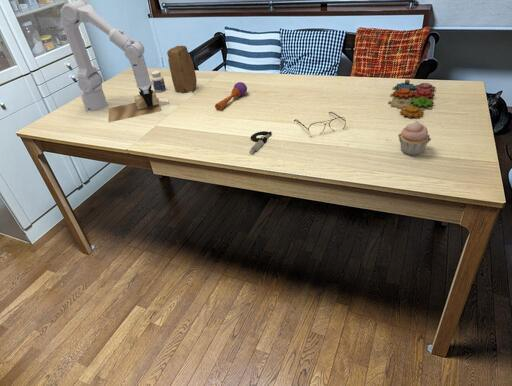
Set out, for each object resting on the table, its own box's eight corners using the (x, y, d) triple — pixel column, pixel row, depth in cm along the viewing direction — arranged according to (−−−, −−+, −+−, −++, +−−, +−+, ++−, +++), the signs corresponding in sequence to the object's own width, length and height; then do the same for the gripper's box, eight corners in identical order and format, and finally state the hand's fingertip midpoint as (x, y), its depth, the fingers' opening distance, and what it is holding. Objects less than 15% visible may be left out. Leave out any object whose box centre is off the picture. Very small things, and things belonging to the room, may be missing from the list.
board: (109, 124, 153) (108, 122, 152) (109, 110, 165) (108, 108, 164) (162, 113, 157) (161, 110, 156) (158, 99, 169) (158, 97, 169)
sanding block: (138, 110, 159) (134, 99, 156) (137, 106, 162) (134, 96, 159) (159, 105, 160) (155, 94, 157) (158, 101, 164) (154, 90, 161)
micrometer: (256, 132, 135) (255, 126, 134) (274, 135, 132) (273, 128, 131) (235, 152, 125) (234, 145, 124) (254, 155, 122) (253, 149, 121)
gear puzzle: (431, 122, 129) (434, 111, 126) (383, 118, 134) (384, 107, 132) (434, 88, 151) (436, 78, 148) (393, 86, 157) (394, 76, 154)
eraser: (159, 105, 161) (159, 101, 160) (158, 102, 164) (158, 97, 163) (168, 106, 162) (168, 101, 161) (167, 103, 165) (167, 98, 164)
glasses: (308, 138, 128) (307, 124, 125) (293, 125, 141) (292, 112, 138) (346, 129, 130) (346, 116, 128) (328, 117, 143) (328, 105, 140)
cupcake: (420, 141, 118) (426, 112, 112) (433, 156, 111) (439, 126, 105) (391, 144, 118) (395, 115, 112) (401, 159, 111) (406, 130, 105)
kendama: (210, 101, 152) (236, 80, 164) (215, 114, 156) (240, 92, 168) (221, 100, 149) (247, 79, 161) (226, 113, 152) (251, 92, 164)
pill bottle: (165, 94, 174) (160, 73, 168) (154, 95, 175) (148, 74, 169) (167, 89, 179) (162, 69, 173) (156, 90, 179) (151, 70, 173)
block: (186, 96, 170) (176, 51, 158) (173, 94, 173) (163, 50, 161) (200, 87, 177) (192, 44, 165) (188, 85, 180) (179, 43, 168)
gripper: (152, 76, 148) (160, 108, 156) (149, 66, 159) (157, 96, 167) (134, 80, 147) (143, 111, 155) (132, 69, 158) (141, 99, 166)
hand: (149, 104), depth 161 cm, fingers closed on sanding block, 4 cm apart
